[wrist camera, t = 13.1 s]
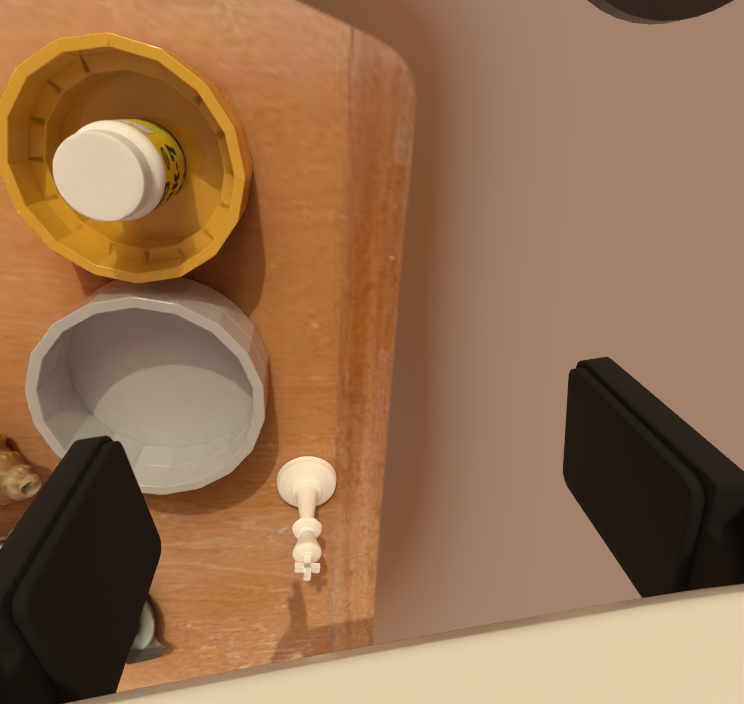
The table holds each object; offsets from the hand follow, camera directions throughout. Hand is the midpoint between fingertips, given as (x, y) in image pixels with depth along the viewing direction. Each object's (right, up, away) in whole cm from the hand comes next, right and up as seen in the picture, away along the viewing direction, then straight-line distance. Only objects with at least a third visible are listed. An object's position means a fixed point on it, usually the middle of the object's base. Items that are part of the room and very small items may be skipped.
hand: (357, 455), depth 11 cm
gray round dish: (-15, +1, +27) cm, 31 cm away
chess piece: (-5, -8, +33) cm, 34 cm away
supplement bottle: (-13, +14, +20) cm, 28 cm away
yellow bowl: (-13, +14, +21) cm, 28 cm away
